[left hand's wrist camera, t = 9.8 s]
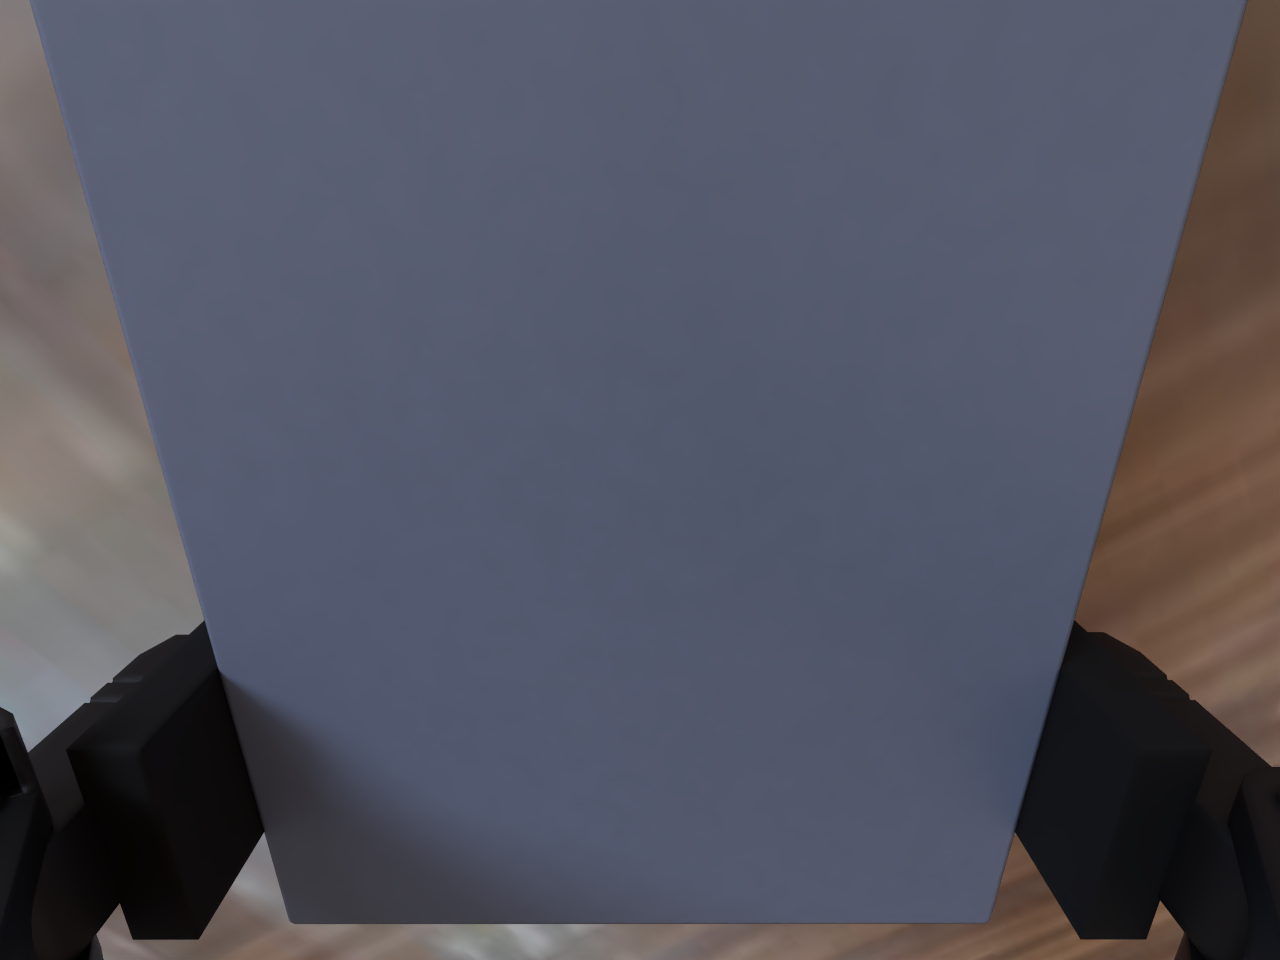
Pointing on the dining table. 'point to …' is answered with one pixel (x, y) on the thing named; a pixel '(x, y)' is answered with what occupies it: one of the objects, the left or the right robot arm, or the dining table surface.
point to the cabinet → (639, 420)
